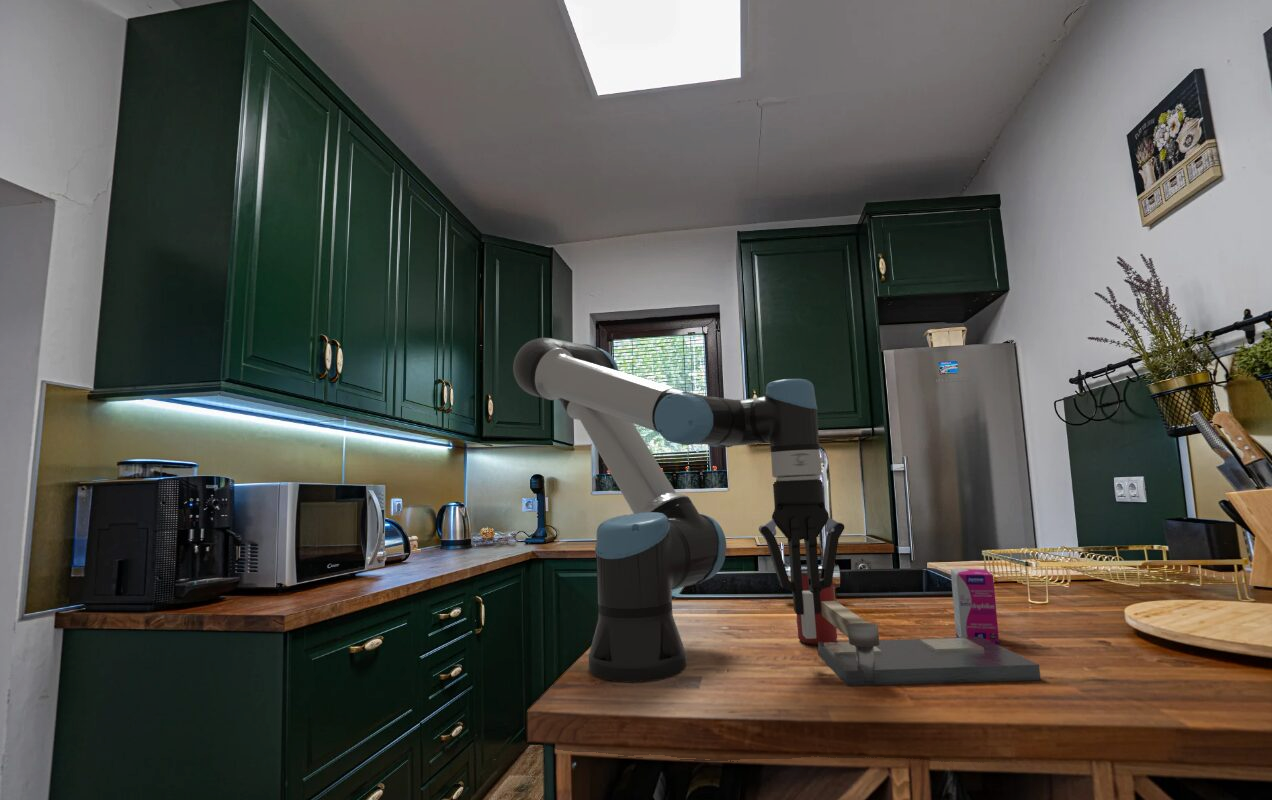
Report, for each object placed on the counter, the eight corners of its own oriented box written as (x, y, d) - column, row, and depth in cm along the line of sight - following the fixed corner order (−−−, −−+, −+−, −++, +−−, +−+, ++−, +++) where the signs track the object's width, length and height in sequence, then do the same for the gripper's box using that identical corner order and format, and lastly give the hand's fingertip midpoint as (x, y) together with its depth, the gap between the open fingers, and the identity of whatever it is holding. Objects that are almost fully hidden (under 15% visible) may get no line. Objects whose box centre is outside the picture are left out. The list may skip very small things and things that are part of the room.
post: (861, 686, 90) (858, 648, 91) (855, 680, 92) (853, 643, 93) (878, 685, 90) (875, 647, 91) (873, 680, 92) (870, 643, 93)
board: (847, 686, 90) (846, 667, 91) (818, 655, 106) (817, 639, 106) (1040, 680, 90) (1038, 661, 90) (982, 649, 106) (981, 634, 106)
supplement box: (961, 644, 109) (955, 573, 111) (955, 635, 115) (949, 568, 116) (1000, 645, 108) (993, 573, 109) (992, 636, 113) (985, 568, 115)
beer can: (790, 640, 117) (786, 570, 118) (820, 635, 119) (815, 567, 121) (815, 648, 111) (810, 574, 112) (845, 642, 114) (840, 570, 115)
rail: (883, 646, 90) (882, 628, 90) (853, 647, 90) (852, 629, 90) (841, 615, 110) (840, 600, 110) (817, 616, 110) (816, 601, 111)
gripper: (758, 480, 99) (770, 644, 96) (846, 476, 99) (860, 640, 96) (751, 481, 107) (762, 632, 104) (833, 477, 106) (845, 629, 103)
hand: (809, 636), depth 100 cm, fingers closed
